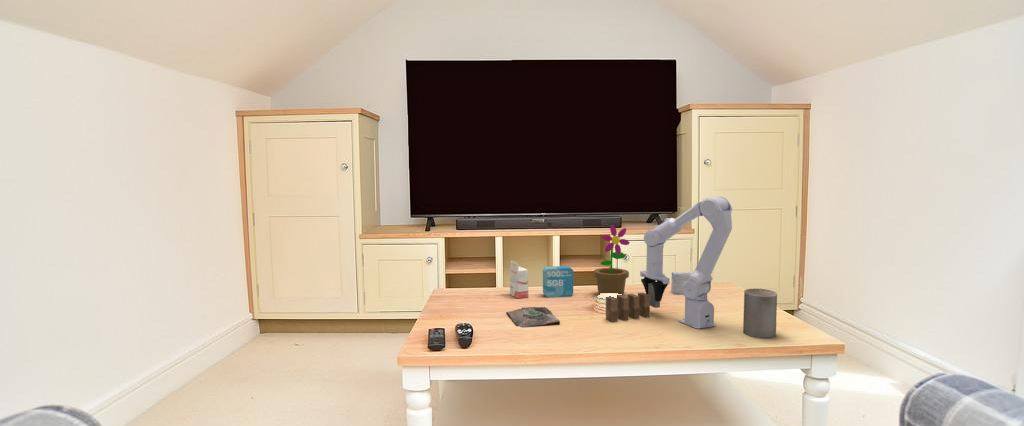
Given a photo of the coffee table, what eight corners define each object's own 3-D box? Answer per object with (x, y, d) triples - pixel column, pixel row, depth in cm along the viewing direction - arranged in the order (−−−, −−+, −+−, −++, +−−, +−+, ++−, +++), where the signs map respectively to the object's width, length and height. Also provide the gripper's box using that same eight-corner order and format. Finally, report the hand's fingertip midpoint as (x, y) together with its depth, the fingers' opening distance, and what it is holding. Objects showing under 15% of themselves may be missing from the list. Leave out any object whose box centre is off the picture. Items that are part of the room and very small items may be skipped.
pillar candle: (748, 327, 182) (749, 283, 181) (779, 332, 176) (781, 287, 175) (739, 334, 175) (740, 289, 173) (771, 340, 169) (773, 293, 167)
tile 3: (639, 318, 193) (639, 296, 193) (634, 319, 193) (634, 297, 192) (631, 315, 197) (632, 293, 197) (627, 316, 197) (627, 294, 196)
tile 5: (617, 321, 190) (617, 299, 189) (612, 322, 189) (612, 299, 188) (610, 318, 194) (610, 296, 193) (605, 319, 193) (605, 296, 192)
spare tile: (659, 307, 196) (660, 285, 196) (655, 307, 196) (655, 286, 195) (652, 304, 201) (652, 282, 200) (647, 304, 200) (648, 283, 199)
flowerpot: (602, 301, 218) (602, 226, 215) (588, 292, 231) (588, 222, 228) (634, 298, 221) (635, 225, 219) (618, 290, 235) (619, 221, 232)
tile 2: (649, 317, 195) (649, 295, 194) (644, 317, 194) (645, 295, 194) (642, 313, 199) (642, 292, 198) (637, 314, 198) (637, 293, 198)
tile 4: (628, 320, 192) (628, 297, 191) (623, 320, 191) (623, 298, 190) (621, 316, 196) (621, 295, 195) (616, 317, 195) (616, 295, 194)
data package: (545, 297, 224) (545, 269, 223) (542, 295, 228) (542, 266, 227) (573, 296, 226) (573, 267, 225) (570, 293, 230) (570, 265, 229)
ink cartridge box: (529, 297, 224) (528, 262, 223) (518, 299, 222) (518, 263, 221) (520, 293, 232) (519, 259, 230) (509, 294, 230) (509, 260, 228)
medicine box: (690, 292, 231) (690, 272, 230) (692, 294, 227) (693, 274, 226) (671, 291, 232) (671, 271, 231) (673, 294, 227) (673, 274, 226)
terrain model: (505, 313, 204) (505, 305, 203) (544, 311, 207) (544, 303, 206) (516, 329, 184) (516, 320, 184) (559, 327, 187) (559, 317, 187)
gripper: (676, 265, 191) (676, 303, 193) (651, 258, 205) (650, 293, 206) (660, 266, 189) (659, 305, 190) (635, 259, 202) (635, 295, 203)
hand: (654, 299), depth 198 cm, fingers closed on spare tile, 4 cm apart
